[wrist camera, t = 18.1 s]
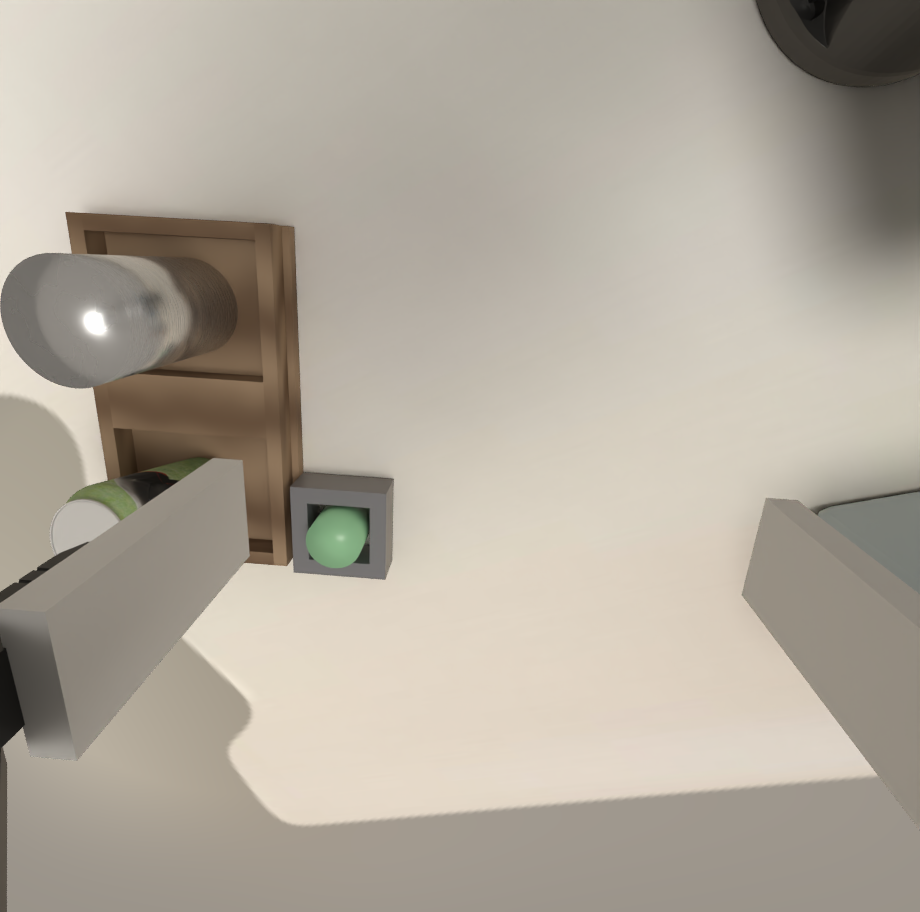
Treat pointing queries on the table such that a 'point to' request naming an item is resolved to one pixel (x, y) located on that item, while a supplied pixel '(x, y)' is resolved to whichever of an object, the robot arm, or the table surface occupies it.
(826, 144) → the table surface
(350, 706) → the table surface
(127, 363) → the seated billet
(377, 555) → the button housing
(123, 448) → the wooden divided tray
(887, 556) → the orange and grey box
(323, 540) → the button
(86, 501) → the beverage can
